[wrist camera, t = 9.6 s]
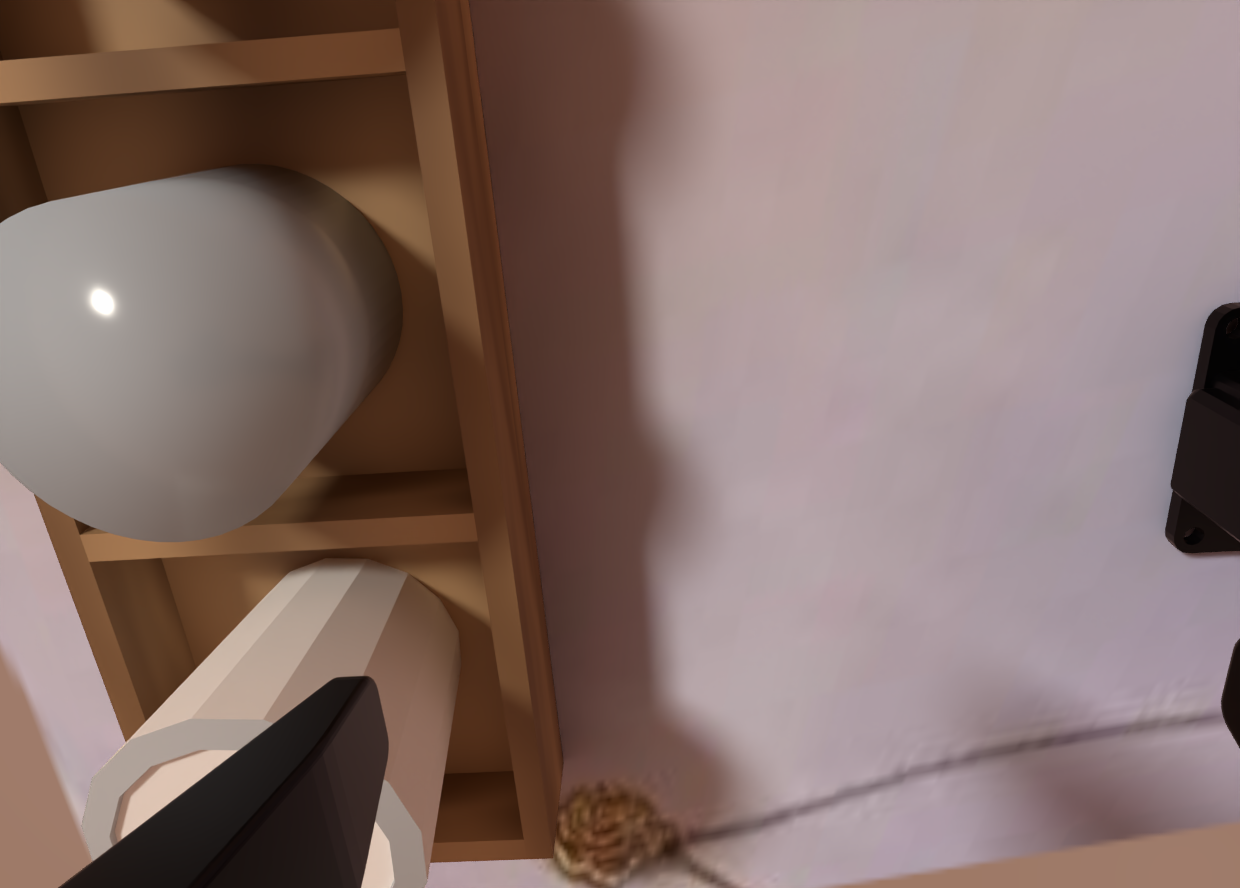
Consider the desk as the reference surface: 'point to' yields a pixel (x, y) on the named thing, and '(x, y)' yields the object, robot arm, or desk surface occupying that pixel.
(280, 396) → the white rounded cylinder
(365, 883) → the shot glass
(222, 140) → the rack
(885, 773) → the desk surface
